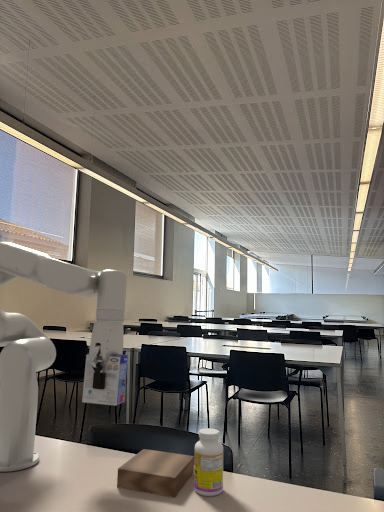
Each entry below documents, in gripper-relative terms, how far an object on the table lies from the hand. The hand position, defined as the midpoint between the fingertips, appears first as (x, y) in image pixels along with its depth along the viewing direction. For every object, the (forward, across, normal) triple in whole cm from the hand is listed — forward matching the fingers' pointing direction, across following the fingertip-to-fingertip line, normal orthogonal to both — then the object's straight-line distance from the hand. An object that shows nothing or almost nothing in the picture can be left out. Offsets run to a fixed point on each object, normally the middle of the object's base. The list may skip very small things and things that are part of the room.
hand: (105, 386), depth 100 cm
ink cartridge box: (+4, 0, 0) cm, 4 cm away
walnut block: (+20, 0, +16) cm, 26 cm away
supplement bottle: (+20, +1, +29) cm, 35 cm away
